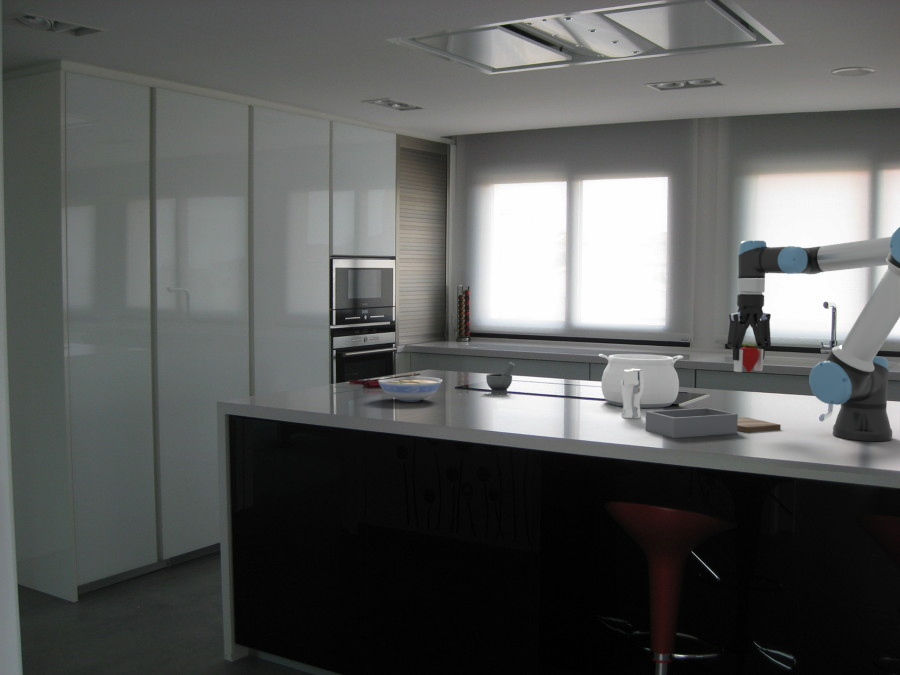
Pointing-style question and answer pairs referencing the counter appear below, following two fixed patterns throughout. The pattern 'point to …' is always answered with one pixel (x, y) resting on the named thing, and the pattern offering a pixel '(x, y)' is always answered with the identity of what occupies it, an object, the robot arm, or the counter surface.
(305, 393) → the counter surface
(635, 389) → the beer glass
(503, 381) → the mortar and pestle
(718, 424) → the crate
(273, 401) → the counter surface
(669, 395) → the pot
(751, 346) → the strawberry
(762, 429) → the display board
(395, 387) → the ramen bowl
